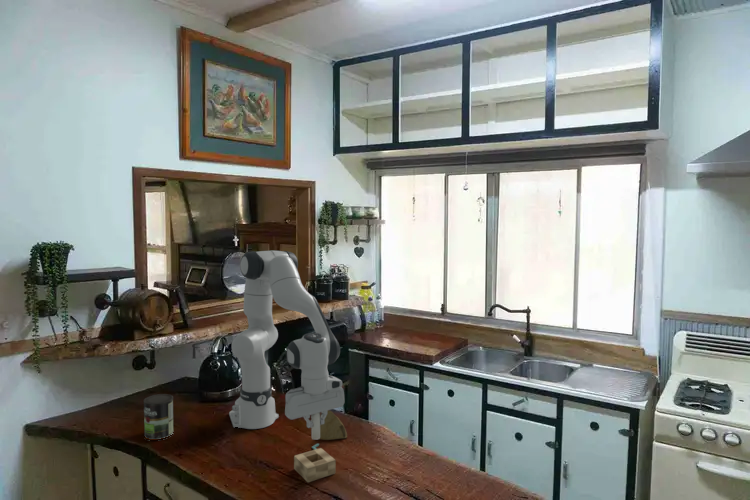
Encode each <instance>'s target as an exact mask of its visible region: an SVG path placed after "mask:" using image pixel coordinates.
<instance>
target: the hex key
mask: <svg viewBox="0 0 750 500" xmlns="http://www.w3.org/2000/svg"><path fill="white" fill-rule="evenodd" d="M319 446H320V443H315V444H314V445H313V446H311V449H312V450H315V449H318V448H317V447H319Z"/></svg>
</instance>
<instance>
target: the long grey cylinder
mask: <svg viewBox="0 0 750 500" xmlns="http://www.w3.org/2000/svg"><path fill="white" fill-rule="evenodd" d="M320 417H321V412H320V413H316V414H312V415H310V418H311V419H310V420H311V421H312V422H313V427H311V428H310V429H311V440H315V441H316V440H321V439H320Z"/></svg>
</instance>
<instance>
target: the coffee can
mask: <svg viewBox="0 0 750 500" xmlns="http://www.w3.org/2000/svg"><path fill="white" fill-rule="evenodd" d="M143 416H144V417H143V418H144V422H143V423H144V424H143V425H144V429H143V430H144V436H145V437H146V438H149V439H161V438H165V437H168V436H170V435H172V434H173V435H174V433H173V432H174V396H173V395H171V394H170V393H169V394H167V393H158V394H153V395H149V396H147V397H145V398H144V399H143ZM173 435H172V436H173ZM170 437H171V436H170Z"/></svg>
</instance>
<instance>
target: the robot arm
mask: <svg viewBox="0 0 750 500" xmlns="http://www.w3.org/2000/svg"><path fill="white" fill-rule="evenodd" d="M298 261H299V260H298V257H297V256H296V254H295V253H293V252H292V251H288V250H282V251H281V250H261V251H255V250H253V251H248V252H247V251H246V252H245V253H244V254H243V255H242V256H241V258H240V262H239V265H240V272H241V274H242V276H243V277H244V278H245V284H244V291H243V293H244V295H243V307H242V308H243V309H242V311H243V313H244V315H245V316H246V317H247V323H248V326H247V329H245V330H242V331H241V332H240V333H238V334H237V335H236V336H235V337H234V338H233V340H232V341H231V352H232V353H233V355H234V356H235V357H236V358H237V359H238V362H239V364H240V369H241V388H240V393H239V394H240V395H239V397H238V398H237V399H236V400H235V401H234V405H232V406H231V409H232V410H231V411H229V413H228V415H229V418H230V421H231V424H232V427H233V428H235V427H238V428H237V429H239V428H240V429H241V428H242V429H247V430H257V429H263V428H267V427H270V426H271V425H272V424H274V423H275V421H276V420H277V419H279V417H280V416H279V413H277V412H276V402H275V398H274V397H273V396H272V391H273V390H272V386H271V368H270V365H269V364H267V360H266V358H265V352H266V351H268V350H269V349H270V348H272V347H273V346H274V345H275V344H276V342H277V340H278V338H279V332H278V331H279V330H278V329H277V327H276V326H275V324H274V318H273V301H274V302H275V303H276V304H277V305H278V306H279V307H281V308H283V309H285V310H288V311H293V312H296V313H297V312H298V313H301V314H303V315H304V316H306V317H307V318H308V319H309V321H310V322H311V325H312V328H313V329H314V331H315V332H308V333H305V334H303V335H302V337H301V338H298V339H295V340H292V341H290V343H288V345H287V347H286V352H285V357H286V358H285V359H286V362H287V364H288V365H290V367H291V368H294V369H296V370H301V375H300V378H301V379H300V380H301V381H300V382H301V386H299V387H297V388H291V389H289V391H287V392H286V394H285V397H284V399H285V406H284V407H285V409H284V415H285V416H286V418H287V419H289V420H296V419H299V418H303V419H304V421H306V422H305V423H306V428H308V429H311V427H313V422H312V421H311V419H310V418H311V415H312V414H316V413H320V425H322V424H324V419H325V417H326V415H327V413H328V411H327V410H329V411H332V410H335V409H339V408H342V407H343V406H344V404H345V392H344V388H343V381H342V380H341V379H340V378H338V377H336V376H333V375H329V371H328V365H333V364H335V362H336V361H337V359H339V356H340V354H341V346H340V343H339V341H338V339H337V338H336V336H335V335H334V333H333V332H332V330H331V328H330V326H329V323H328V322H327V319H326V317H325V314H324V313H323V310H322V309H321V307H320V304H319V302H318V300H317V299H316V297H315V296H314V295H313V294H311V293H309V291H307V290H306V288H305V287H304V285H303V283H302V280H301V277H300V273H299V270H298V268H299V262H298Z"/></svg>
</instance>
